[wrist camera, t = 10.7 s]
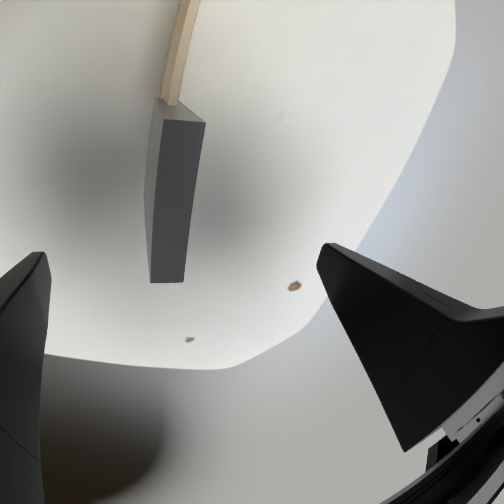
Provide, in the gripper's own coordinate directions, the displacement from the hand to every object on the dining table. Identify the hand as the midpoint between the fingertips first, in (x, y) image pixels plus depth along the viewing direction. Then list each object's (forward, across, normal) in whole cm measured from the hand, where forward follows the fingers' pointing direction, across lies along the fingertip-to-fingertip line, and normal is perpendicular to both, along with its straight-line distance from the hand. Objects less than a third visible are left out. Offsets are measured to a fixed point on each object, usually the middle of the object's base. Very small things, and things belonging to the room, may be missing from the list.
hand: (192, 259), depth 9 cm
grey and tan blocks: (+12, 0, -6) cm, 13 cm away
